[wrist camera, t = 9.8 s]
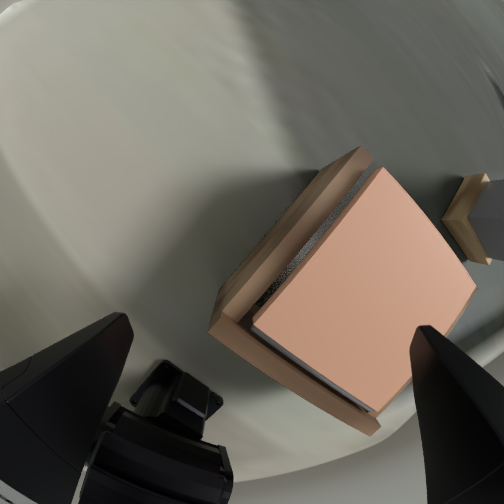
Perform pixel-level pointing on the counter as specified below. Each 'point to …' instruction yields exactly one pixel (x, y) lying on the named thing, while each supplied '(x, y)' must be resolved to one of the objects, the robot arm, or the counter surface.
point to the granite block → (490, 219)
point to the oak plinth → (458, 219)
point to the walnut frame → (264, 274)
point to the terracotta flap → (367, 295)
